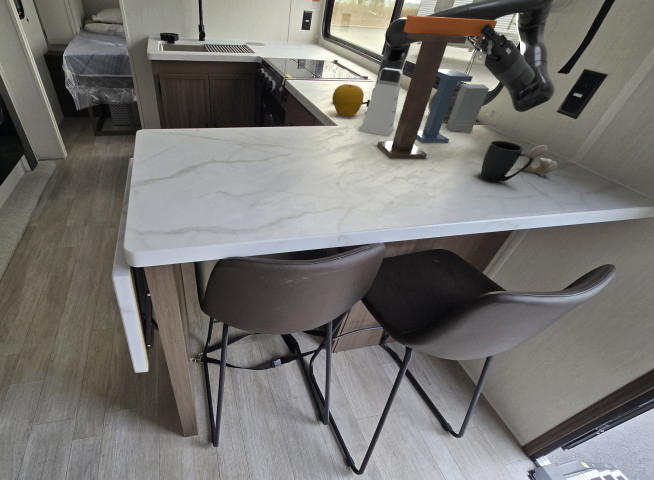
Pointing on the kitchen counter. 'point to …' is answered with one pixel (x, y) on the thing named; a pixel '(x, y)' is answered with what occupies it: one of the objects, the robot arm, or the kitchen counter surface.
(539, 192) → the kitchen counter surface
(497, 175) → the mug
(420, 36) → the tall stand
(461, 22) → the orange wooden plank
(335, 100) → the apple
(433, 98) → the bowl
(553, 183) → the kitchen counter surface
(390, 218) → the kitchen counter surface
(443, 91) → the lower shelf
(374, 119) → the grater
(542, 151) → the bone
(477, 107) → the cosmetic box
